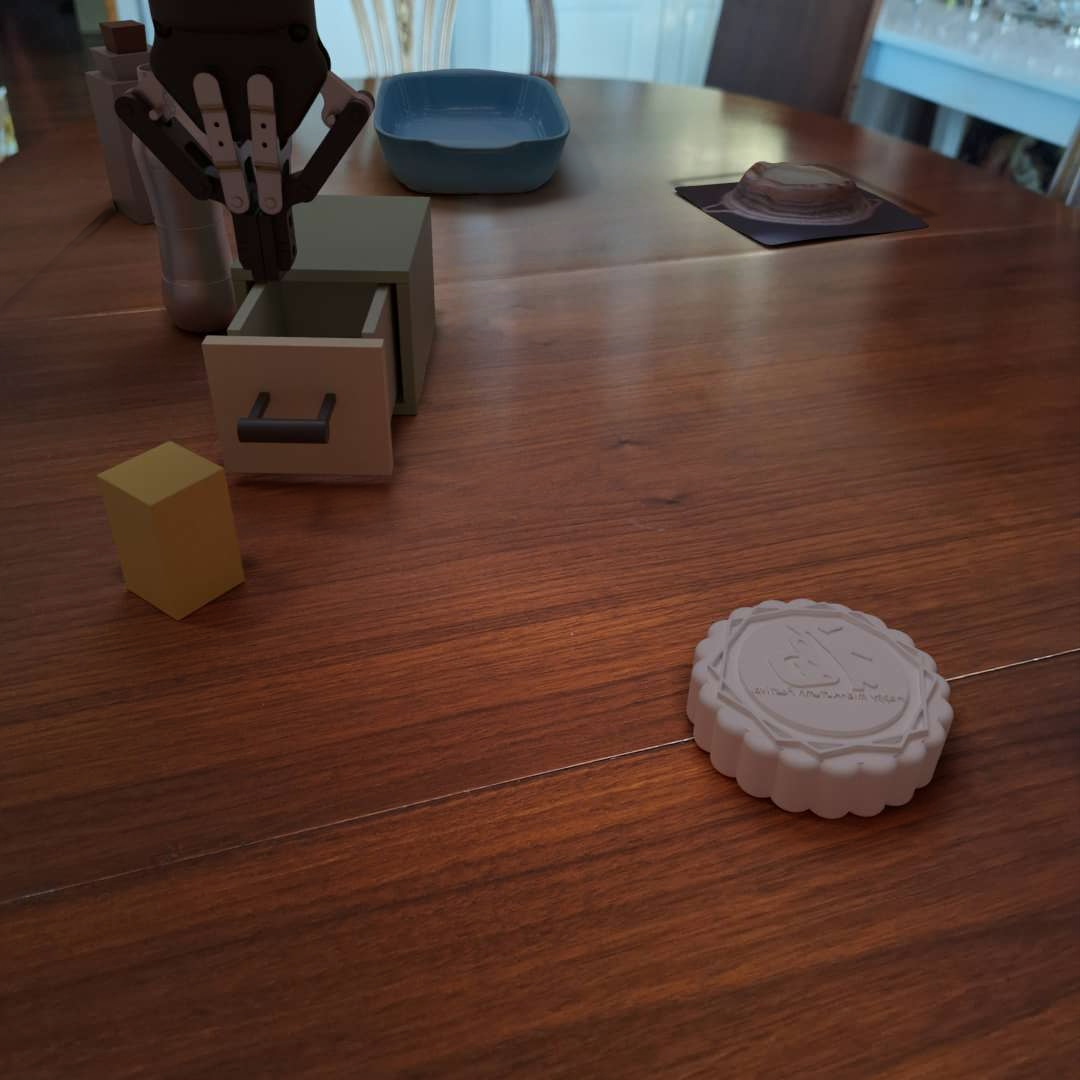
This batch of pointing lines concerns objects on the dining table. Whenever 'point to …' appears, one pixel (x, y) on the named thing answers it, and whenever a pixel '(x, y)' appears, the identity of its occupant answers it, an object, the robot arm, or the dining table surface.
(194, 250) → the plastic bottle
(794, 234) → the round mound on square
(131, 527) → the block
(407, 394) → the cabinet
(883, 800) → the mooncake
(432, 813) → the dining table surface
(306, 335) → the drawer
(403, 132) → the casserole dish
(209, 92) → the robot arm
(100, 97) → the perfume bottle
